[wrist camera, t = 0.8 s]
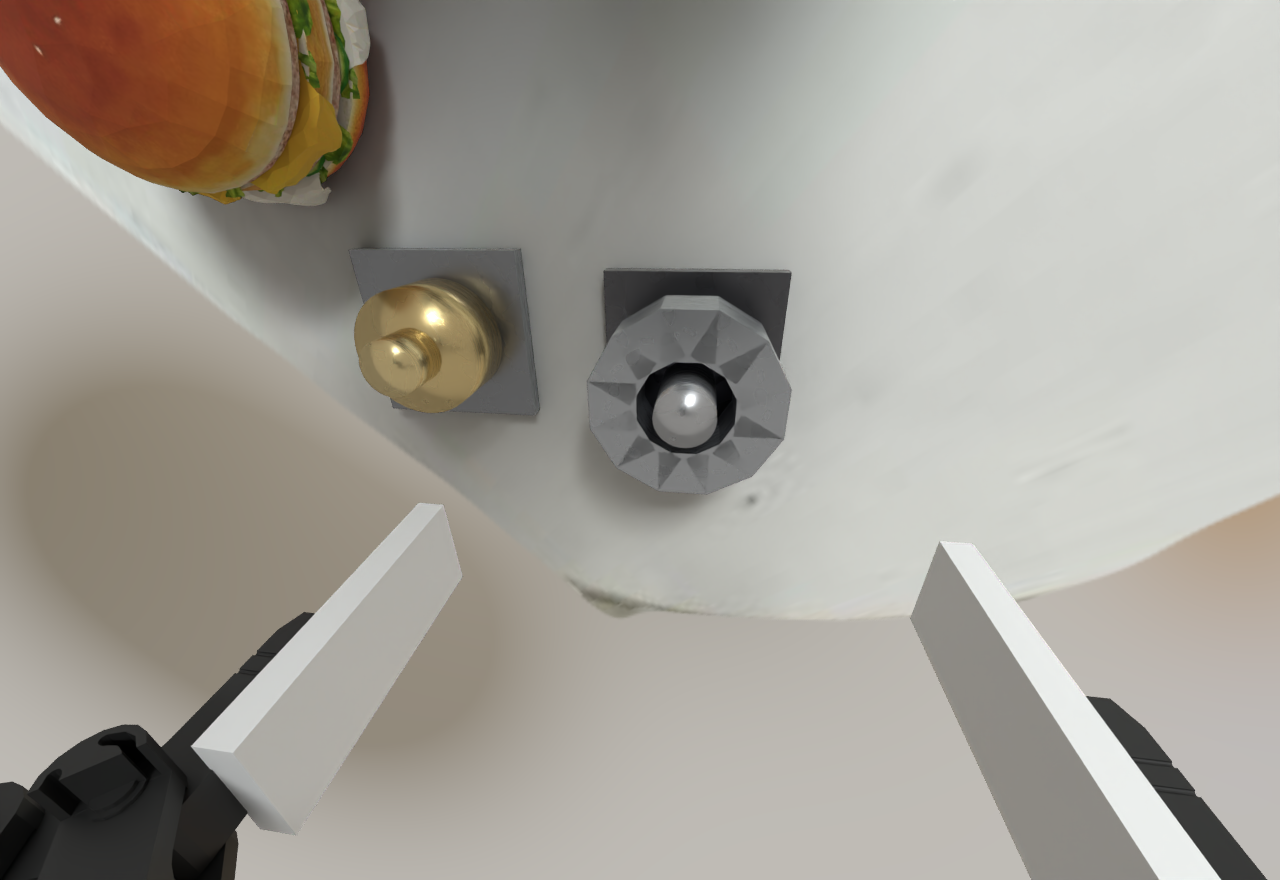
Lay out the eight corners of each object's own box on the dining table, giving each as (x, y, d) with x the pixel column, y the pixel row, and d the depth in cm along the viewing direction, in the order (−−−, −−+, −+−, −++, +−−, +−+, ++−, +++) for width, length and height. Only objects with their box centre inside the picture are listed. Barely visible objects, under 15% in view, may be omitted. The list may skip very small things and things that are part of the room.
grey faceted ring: (597, 294, 22) (582, 307, 19) (792, 297, 21) (803, 312, 18) (605, 457, 26) (593, 486, 24) (767, 467, 25) (774, 499, 23)
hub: (360, 248, 28) (260, 263, 22) (520, 248, 26) (463, 265, 20) (401, 402, 32) (329, 450, 26) (539, 409, 31) (497, 461, 25)
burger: (325, -179, 19) (11, -484, 11) (437, 184, 26) (294, 179, 17) (85, -87, 22) (-327, -273, 13) (238, 224, 28) (24, 237, 19)
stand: (607, 268, 26) (562, 299, 18) (788, 270, 25) (824, 304, 17) (613, 426, 31) (580, 505, 23) (766, 434, 30) (786, 520, 22)
